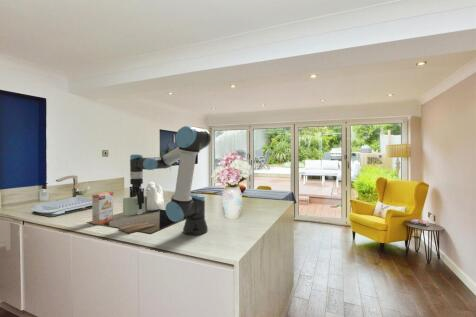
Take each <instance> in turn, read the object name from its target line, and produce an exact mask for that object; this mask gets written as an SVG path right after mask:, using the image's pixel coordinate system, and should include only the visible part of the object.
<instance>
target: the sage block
mask: <svg viewBox="0 0 476 317" xmlns="http://www.w3.org/2000/svg"><path fill="white" fill-rule="evenodd" d="M137 204H138V200H137V196H136V197H130V196H129V197H122V214H123V215H125V216H131V215H136V214H137ZM147 212H148V210H147V197H146V195H144V203H143V204H142V214H143V213H147Z"/></svg>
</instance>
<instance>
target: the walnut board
mask: <svg viewBox="0 0 476 317" xmlns="http://www.w3.org/2000/svg"><path fill="white" fill-rule="evenodd" d="M152 228H156V225H155V224H154V223H150V222H146V221H142V222H138V223H133V224H129V225H125V226H121V227H119V228H118V231H120V232H123V233H126V234H128V235H130V234H134V233H137V232H142V231H145V230H148V229H152Z"/></svg>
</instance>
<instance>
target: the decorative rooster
mask: <svg viewBox="0 0 476 317" xmlns="http://www.w3.org/2000/svg"><path fill="white" fill-rule="evenodd" d="M145 196H146V197H147V211H157V210H161V209H163V207H164V203H165V200H164V191H163V187H162V186H161V184H156V183H155V182H154V181H149V182H148V183H147V186H146V187H145Z"/></svg>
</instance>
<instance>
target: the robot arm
mask: <svg viewBox="0 0 476 317" xmlns="http://www.w3.org/2000/svg"><path fill="white" fill-rule="evenodd" d="M211 141H212V137H211V133H210V132H209V130H208V129H206V128H203V127H197V126H191V125H187V126H186V125H185V126H182V127H180V128H179V129H178V130H177V132H176V134H175V142H176V145H177V147H176V148H173V149H172V150H171V151H169V152H167V153H166V154H164V155H162V156H159V157H143V156H144V155H143V154H138V153H137V154H130V156H129V158H130V159H129V167H130V168H129V169H130V170H129V175H130V176H129V177H130V180H129V183H130V185H131V186H129V197H136V196H137V200H138V204H137V215H139V216H140V215H142V214H143V213H142V204H143V203H144V196H145V194H144V192H145V188H144V187H142V185H143V183H144V181H143V180H144V179H143V177H144V170H147V171H154V170H158V169H169V168H170V167H171V166H172V165H173V164H174V163H176V162H178V161H179V163H178V168H177V169H178V170H177V177H176V184H175V190H174V193H173V194H172V195H171V199H170V201H169V202H168V203H166V204H165V208H164V209H165V213H166V216H167V217H168V219H169V220H170V221H171V222H174V223H177V222H181V221H183V220H184V221H185V222H184V226H183V228H182V229H183V230H182V233H183V234H185V235H187V236H199V235H203V234H204V235H205V234H206V233H207V232H208V231H209V230H208V225H207V222H206V218H205V217H206V216H205V212H206V210H205V208H206V207H205V206H206V200H205V196H204V195H203V194H191V192H192V191H191V190H192V185H193V178H194V172H195V166H196V165H195V164H196V158H197V155H198V154H199V153H200V152H201V150H203V149H205V148H207V147H208V146H209V145H210V143H211Z"/></svg>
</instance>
